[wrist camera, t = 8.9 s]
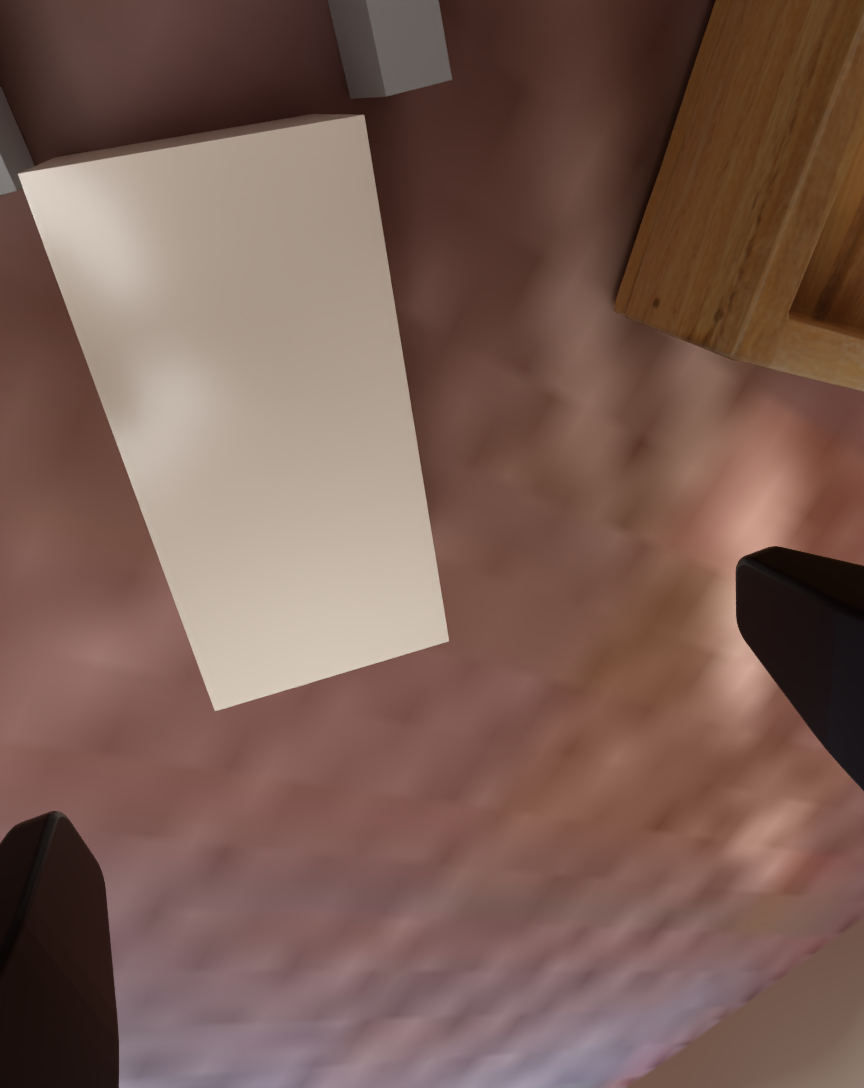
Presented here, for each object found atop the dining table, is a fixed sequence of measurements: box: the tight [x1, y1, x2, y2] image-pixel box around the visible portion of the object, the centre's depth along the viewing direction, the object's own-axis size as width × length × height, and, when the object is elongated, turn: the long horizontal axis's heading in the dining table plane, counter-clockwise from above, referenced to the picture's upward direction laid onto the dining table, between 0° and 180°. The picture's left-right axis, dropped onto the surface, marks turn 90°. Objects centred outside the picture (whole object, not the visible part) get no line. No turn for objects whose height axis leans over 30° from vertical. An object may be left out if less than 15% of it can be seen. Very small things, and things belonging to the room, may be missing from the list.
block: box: [18, 114, 449, 711], centre depth 16 cm, size 10×5×5 cm, turn 8°
